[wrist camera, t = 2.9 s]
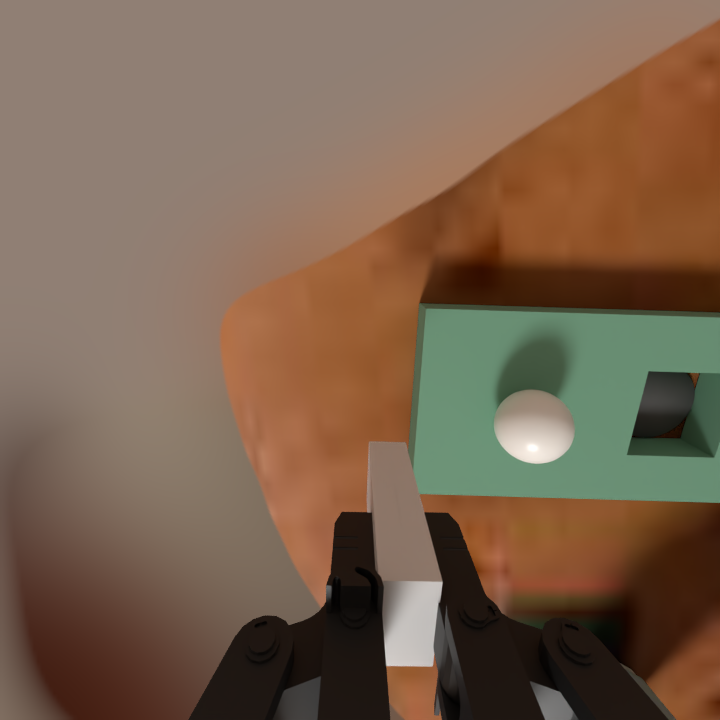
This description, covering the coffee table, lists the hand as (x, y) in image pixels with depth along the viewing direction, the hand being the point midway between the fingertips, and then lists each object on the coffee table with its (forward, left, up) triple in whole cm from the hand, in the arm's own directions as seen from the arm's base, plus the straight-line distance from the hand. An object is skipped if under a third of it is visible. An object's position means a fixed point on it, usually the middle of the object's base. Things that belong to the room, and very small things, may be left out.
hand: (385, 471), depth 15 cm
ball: (-8, 0, -5) cm, 10 cm away
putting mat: (-13, 0, -10) cm, 16 cm away
